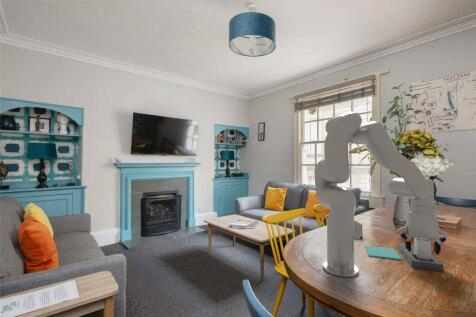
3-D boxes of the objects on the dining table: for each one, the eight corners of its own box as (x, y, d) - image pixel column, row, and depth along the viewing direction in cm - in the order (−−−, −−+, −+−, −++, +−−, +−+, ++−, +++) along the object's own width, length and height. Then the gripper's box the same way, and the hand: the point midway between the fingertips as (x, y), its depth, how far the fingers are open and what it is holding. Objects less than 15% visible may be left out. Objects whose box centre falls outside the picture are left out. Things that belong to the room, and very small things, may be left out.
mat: (401, 260, 100) (401, 258, 100) (368, 256, 104) (368, 254, 104) (394, 250, 111) (394, 248, 111) (365, 246, 116) (365, 245, 116)
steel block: (431, 267, 94) (431, 241, 94) (417, 265, 95) (417, 240, 95) (427, 262, 98) (426, 238, 98) (414, 260, 99) (413, 236, 99)
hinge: (328, 232, 138) (331, 215, 140) (332, 233, 141) (334, 216, 144) (360, 239, 126) (362, 220, 129) (362, 240, 130) (364, 221, 132)
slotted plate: (443, 271, 90) (443, 264, 90) (411, 267, 94) (411, 260, 94) (422, 250, 111) (422, 245, 111) (397, 247, 114) (397, 242, 114)
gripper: (444, 208, 97) (445, 251, 97) (394, 206, 103) (395, 246, 103) (453, 212, 90) (454, 258, 90) (399, 209, 96) (399, 252, 96)
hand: (422, 251), depth 97 cm, fingers open, 8 cm apart
